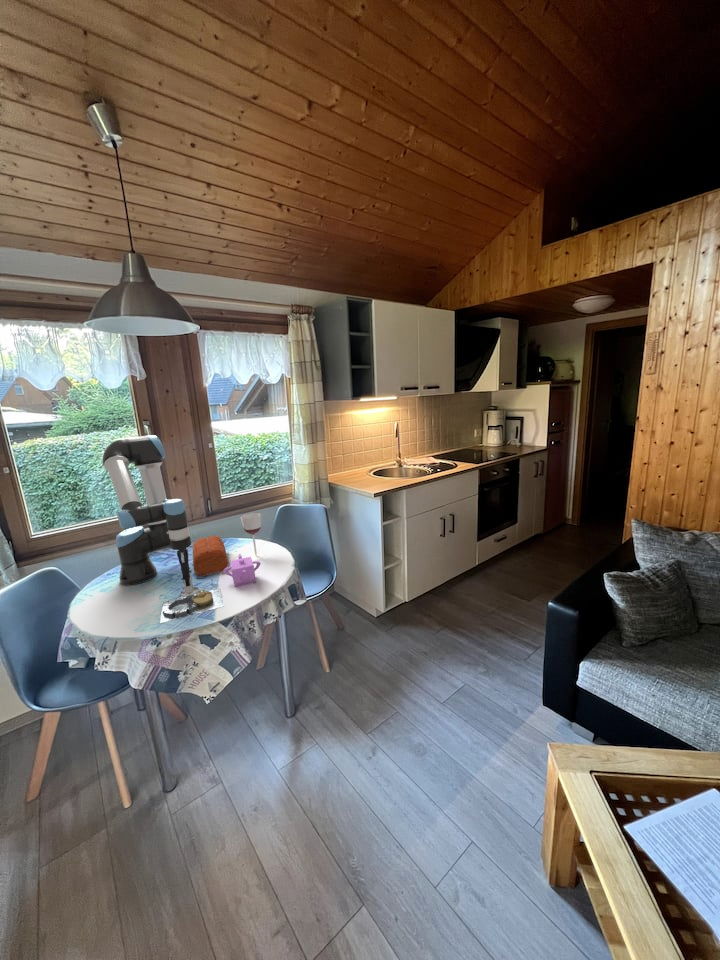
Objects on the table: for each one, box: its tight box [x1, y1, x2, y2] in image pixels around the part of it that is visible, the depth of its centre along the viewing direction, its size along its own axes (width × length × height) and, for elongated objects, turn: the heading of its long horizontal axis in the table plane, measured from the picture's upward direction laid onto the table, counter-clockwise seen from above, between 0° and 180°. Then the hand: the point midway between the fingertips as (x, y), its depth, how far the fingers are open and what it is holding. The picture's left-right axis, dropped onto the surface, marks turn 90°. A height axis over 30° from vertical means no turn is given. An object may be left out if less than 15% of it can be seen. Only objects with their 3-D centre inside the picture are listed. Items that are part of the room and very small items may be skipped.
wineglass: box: [240, 512, 266, 562], centre depth 192 cm, size 9×10×22 cm
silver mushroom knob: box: [180, 573, 200, 597], centre depth 160 cm, size 7×7×8 cm
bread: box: [192, 535, 229, 577], centre depth 190 cm, size 16×27×11 cm, turn 24°
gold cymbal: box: [193, 589, 213, 606], centre depth 151 cm, size 7×7×4 cm
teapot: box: [223, 553, 261, 588], centre depth 167 cm, size 15×13×11 cm
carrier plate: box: [159, 588, 225, 624], centre depth 150 cm, size 16×22×3 cm
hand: (189, 590), depth 161 cm, fingers closed on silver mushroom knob, 3 cm apart
